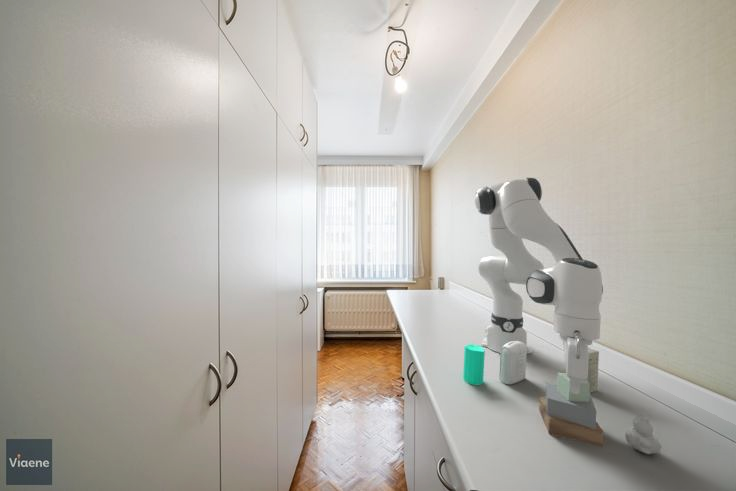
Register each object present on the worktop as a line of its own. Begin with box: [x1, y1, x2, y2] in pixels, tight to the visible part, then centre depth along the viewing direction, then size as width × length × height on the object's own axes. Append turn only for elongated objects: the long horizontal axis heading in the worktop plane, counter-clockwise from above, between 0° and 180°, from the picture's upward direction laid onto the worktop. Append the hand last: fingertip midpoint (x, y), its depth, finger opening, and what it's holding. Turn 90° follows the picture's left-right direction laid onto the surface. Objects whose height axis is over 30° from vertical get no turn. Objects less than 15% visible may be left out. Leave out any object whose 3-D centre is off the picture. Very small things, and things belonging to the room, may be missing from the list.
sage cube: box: [556, 372, 590, 402], centre depth 67 cm, size 4×4×4 cm
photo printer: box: [498, 341, 528, 385], centre depth 90 cm, size 10×4×12 cm, turn 124°
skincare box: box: [587, 347, 600, 393], centre depth 86 cm, size 6×4×12 cm
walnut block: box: [538, 396, 604, 447], centre depth 67 cm, size 10×10×4 cm
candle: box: [462, 344, 486, 386], centre depth 88 cm, size 6×6×12 cm
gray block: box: [545, 382, 597, 429], centre depth 67 cm, size 9×9×4 cm
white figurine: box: [624, 412, 662, 455], centre depth 60 cm, size 5×7×8 cm
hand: (573, 383), depth 67 cm, fingers open, 8 cm apart
